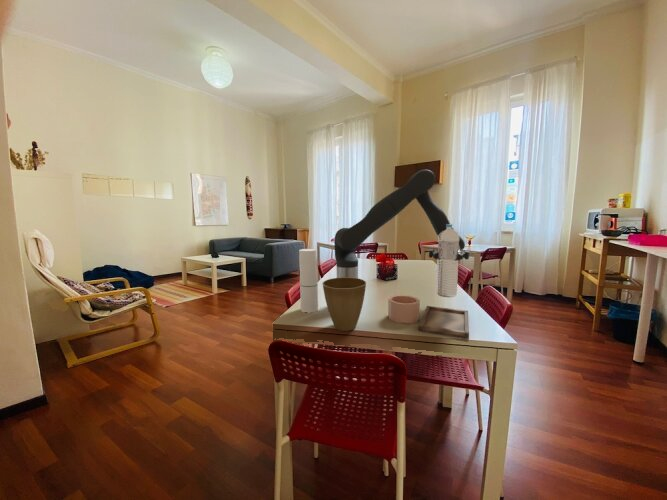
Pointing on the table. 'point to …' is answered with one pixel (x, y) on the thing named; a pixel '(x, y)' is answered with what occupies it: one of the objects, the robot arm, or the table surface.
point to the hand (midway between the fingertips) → (447, 256)
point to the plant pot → (344, 301)
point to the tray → (445, 322)
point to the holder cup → (403, 308)
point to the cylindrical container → (308, 280)
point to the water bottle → (447, 262)
